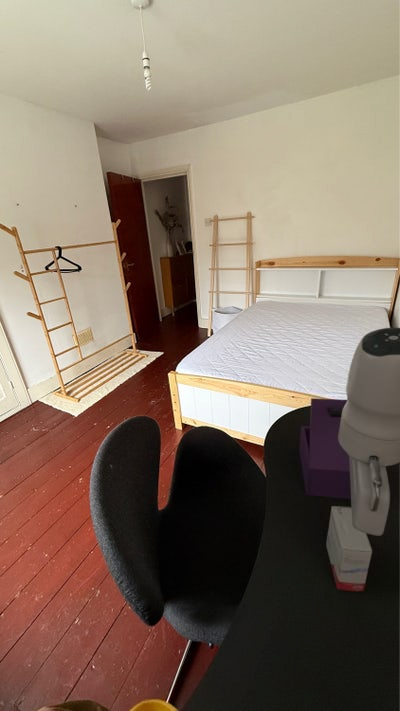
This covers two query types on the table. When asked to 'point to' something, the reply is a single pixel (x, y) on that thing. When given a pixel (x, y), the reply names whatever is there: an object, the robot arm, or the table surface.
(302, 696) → the table surface
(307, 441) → the box
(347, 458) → the lid
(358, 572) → the ink box
